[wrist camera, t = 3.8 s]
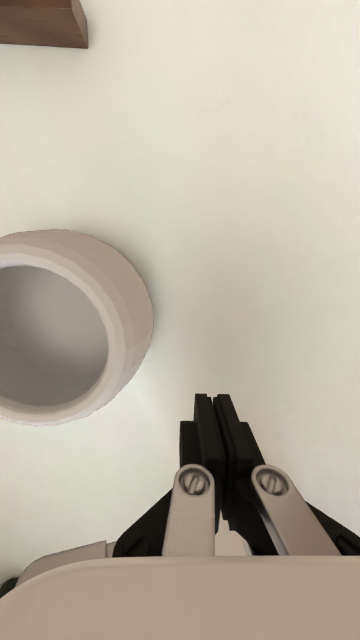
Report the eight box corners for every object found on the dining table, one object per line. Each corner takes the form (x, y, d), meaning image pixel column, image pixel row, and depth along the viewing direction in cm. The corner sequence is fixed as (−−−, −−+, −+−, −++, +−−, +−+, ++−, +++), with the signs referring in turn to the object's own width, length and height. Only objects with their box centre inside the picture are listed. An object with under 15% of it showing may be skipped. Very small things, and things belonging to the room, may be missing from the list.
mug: (75, 195, 24) (9, 155, 14) (186, 320, 28) (193, 355, 18) (-58, 333, 27) (-185, 376, 18) (56, 429, 31) (2, 508, 21)
